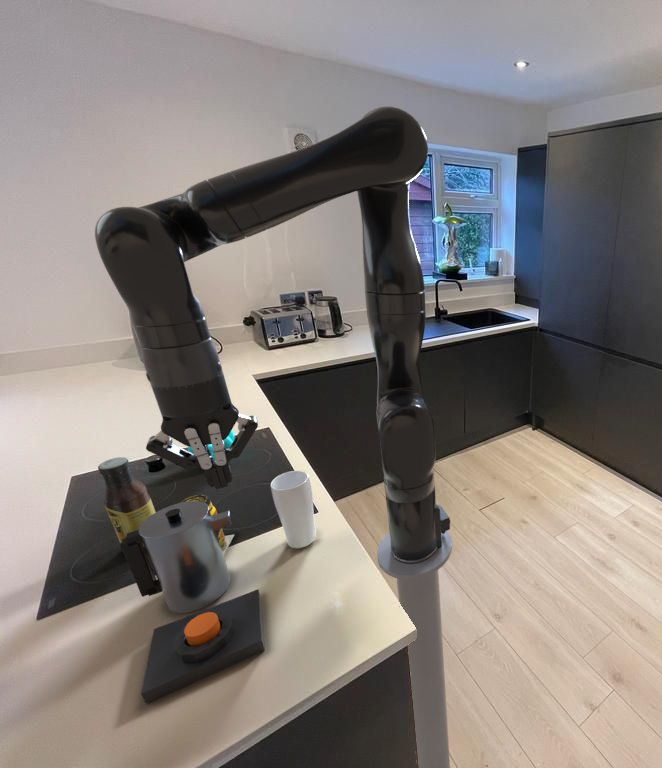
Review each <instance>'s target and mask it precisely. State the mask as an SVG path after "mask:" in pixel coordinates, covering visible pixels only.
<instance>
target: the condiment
mask: <svg viewBox="0 0 662 768" xmlns="http://www.w3.org/2000/svg"><path fill="white" fill-rule="evenodd" d="M189 501H200V502H204V503H206V504H207V505H208V507H209V510H210V513H211V516H212V515H216V514H219V513H218V511H217V509H216V507H215V506H214V505H213V502H212V501H211V497H209V495H207V494H195V495H191V496H188V497H186V498H184V499H182V500H181V501H179V503H182V502H189ZM216 533H217V536H218V539H219V542H220V546H221V549H222V552H223V555H225V553H226V551H227V550H228V548H229V546H230V544H231V543H232V540H233V538H234V537H235V534H229V535H225V533H224V531H223V528H222V529H218V530H216Z"/></svg>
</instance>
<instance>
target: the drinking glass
mask: <svg viewBox="0 0 662 768" xmlns="http://www.w3.org/2000/svg"><path fill="white" fill-rule="evenodd" d="M269 486H270V491H271V496H272V500H273V504H274V507H275V510H276V513H277V515H278V518H279V521H280V523H281V526H282V530H283V532H284V534H285V537H286V540H287V545H288V546H289V547H290V548H291V549H302V548H305V547H308V546H309V545H311V544H312V543H313V542H314V541H315V539H316V538H317V530H316V524H315V512H314V499H313V498H314V497H313V490H312V483H311V480H310V476H309V474H308V473H307V472H306V471H303V470H291V471H286V472H283V473H282V474H279V475H277V476H276V477H274V479H272V481H271V482H270V485H269Z"/></svg>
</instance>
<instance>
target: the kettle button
mask: <svg viewBox="0 0 662 768" xmlns="http://www.w3.org/2000/svg"><path fill="white" fill-rule="evenodd" d="M220 627H221V626H220V623H219V620H218V617H217V615H216V614H215V613H213V612H207V613H203V614H201V615H199V616H197V617H195V618H194V619H192V620H191V621H190V622H189V623H188V624H187V626H186V627H185V630H184V634H185V636H186V639H187V641H188V644H189V645H191V646H200V645H202V644H205V643H207V642H209V641H210V640H211V639H213V638H214V637H215V636H216V635H217V634H218V633H219V631H220Z"/></svg>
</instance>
